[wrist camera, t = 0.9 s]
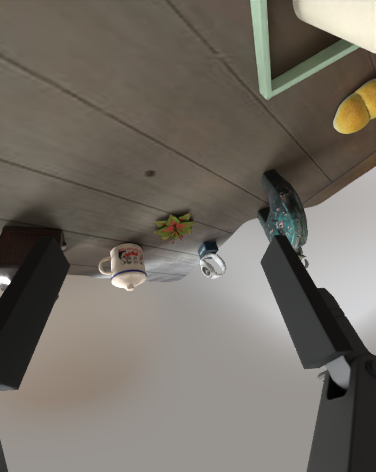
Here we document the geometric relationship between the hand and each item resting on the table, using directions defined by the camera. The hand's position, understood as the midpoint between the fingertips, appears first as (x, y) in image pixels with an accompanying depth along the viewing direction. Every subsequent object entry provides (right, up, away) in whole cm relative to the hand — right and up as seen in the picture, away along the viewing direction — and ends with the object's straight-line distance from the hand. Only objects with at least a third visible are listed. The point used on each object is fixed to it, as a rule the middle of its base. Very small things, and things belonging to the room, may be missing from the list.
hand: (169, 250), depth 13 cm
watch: (+7, -3, +55) cm, 55 cm away
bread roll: (+32, +25, +24) cm, 47 cm away
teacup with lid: (-18, -3, +45) cm, 48 cm away
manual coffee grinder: (-32, +1, +32) cm, 45 cm away
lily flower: (-3, +4, +41) cm, 41 cm away
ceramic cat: (+21, +11, +41) cm, 47 cm away
